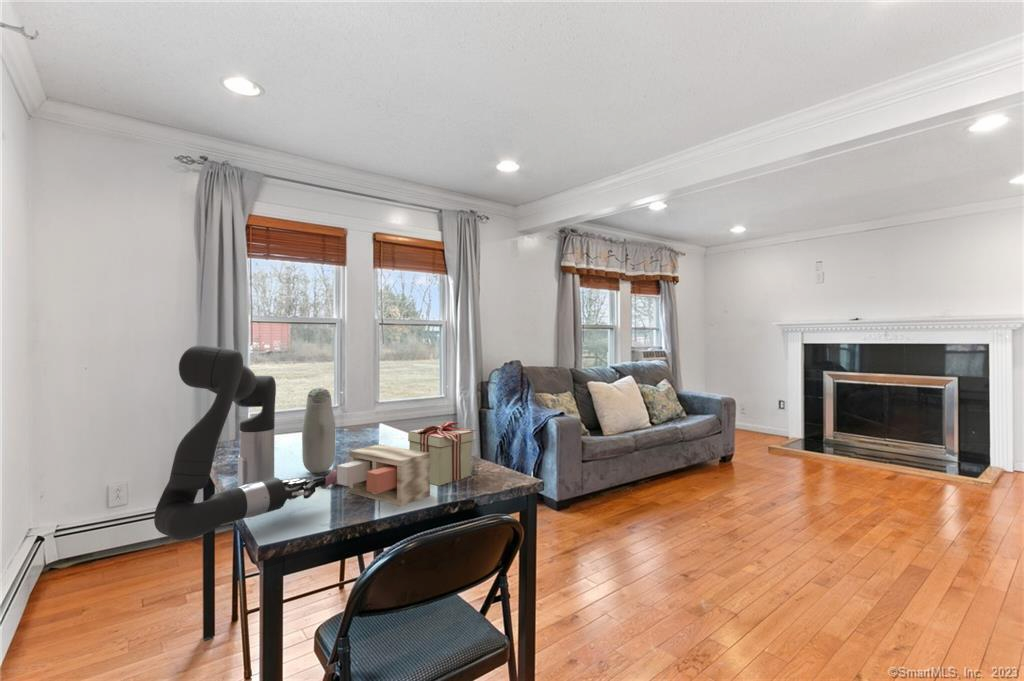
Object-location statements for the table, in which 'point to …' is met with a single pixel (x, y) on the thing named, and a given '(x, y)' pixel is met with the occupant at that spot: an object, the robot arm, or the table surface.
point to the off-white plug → (352, 472)
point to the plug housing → (409, 473)
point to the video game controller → (331, 478)
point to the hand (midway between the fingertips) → (323, 480)
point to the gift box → (444, 451)
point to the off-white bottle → (318, 432)
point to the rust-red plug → (382, 479)
